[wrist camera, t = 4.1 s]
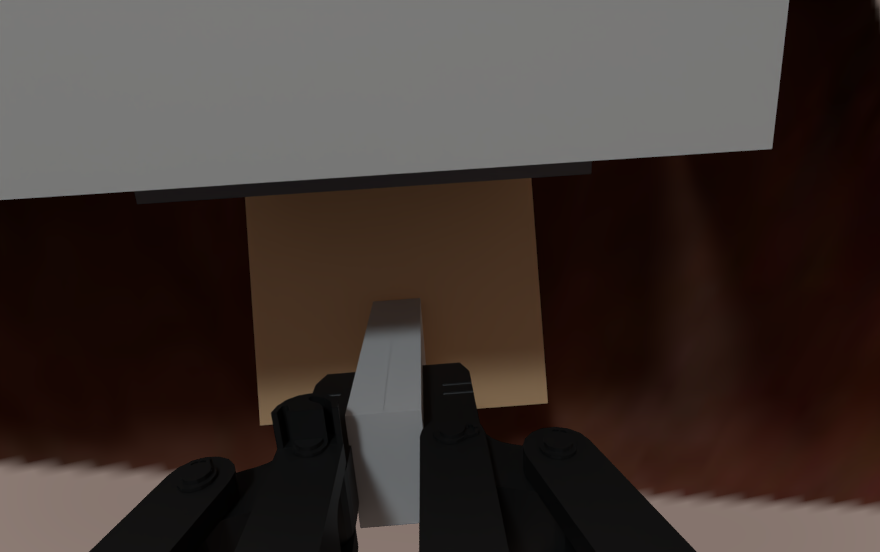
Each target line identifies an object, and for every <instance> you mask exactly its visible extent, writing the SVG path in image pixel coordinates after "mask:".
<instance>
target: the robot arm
mask: <svg viewBox="0 0 880 552" xmlns="http://www.w3.org/2000/svg"><path fill="white" fill-rule="evenodd" d="M271 417H272V422H273V428H274V433H275V438H276V444H277V451H276V454H275V456H274V459H273V461H271V462H269V463H267V464H264V465H261V466H258V467H255V468H252V469H248V470H245V471H241V472H238V473H236V471H235V466H234V464H233V463H232V462H231V461H230V460H229V459H226V458H222V457H205V458H200V459H197V460H194V461H191V462H189V463H187V464H185V465H183V466H181V467H179V468H177V469H176V470H175V471H173V472H172V473H171V474H169V475H168V476H167V477H166V478H165V479H164V480H163V481H162V482H161V483H160V484H159V485H158V486H157V487H156V488H154V489H153V490H152V491H151V492H150V493H149V494H148V495H147V496H146V497H145V498H144V499H143V500H142V501H141V502H140V503H139V504H138V505H137V506H136V507H135V508H134V509H133V510H132V511H131V512H130V513H129V514H128V515H127V516H126V517H125V518H124V519H122V520H121V522H119V523H118V524H117V525H116V526H115V527H114V528H113V529H112V530H111V531H110V532H109V533H108V534H107V535H106V536H105V537H104V538H103V539H102V540H101V541H100V542H99V543H98V544H97V545H96V546H95V547H94V548H93V549H92V550H90V551H89V552H358V541H357V534H356V521H357V514H358V513H359V520H360V527H361V528H367V527H379V526H391V525H403V524H415V523H419V529H420V531H419V540H420V541H419V552H696V551H695V550H694V549H693V548H692V547H691V546H690V544H689V543H687V541H686V540H685V539H684V538H683V537H682V536H681V535H680V534H679V533H678V532H677V531H676V530H675V529H674V528H673V527H672V526H671V525H670V524H669V523H668V521H666V519H665V518H664V517H663V516H662V515H661V514H660V513H659V512H658V511H657V510H656V509H655V508H654V507H653V506H652V505H651V504H650V503H649V502H648V501H647V500H646V498H645V497H644V496H643V495H642V494H641V493H640V492H639V491H638V490H637V489H636V488H635V487H634V486H633V485H632V484H631V483H630V482H629V481H628V480H627V479H626V478H625V477H624V476H623V474H622V473H621V472H620V471H619V470H618V469H617V468H616V467H615V466H614V465H613V464H612V463H611V462H610V461H609V460H608V459H607V458H606V457H605V456H604V455H603V454H602V453H601V451H600V450H599V449H598V448H597V447H596V446H595V445H594V444H593V443H592V442H591V441H590V440H589V439H588V438H586V437H585V436H583V435H582V434H581V433H579V432H576V431H573V430H570V429H567V428H559V427H550V428H542V429H539V430H537V431H534V432H532V433H531V434H530V435H529V436H527V437H526V438H525V441H524V444H523V446H521V445H513V444H508V443H503V442H500V441H498V440H495V439H493V438H491V437H490V436H488V435H487V434H486V433H485V431H484V429H483V427H482V426H481V424H480V422H479V417H478V412H477V407H476V402H475V397H474V392H473V387H472V382H471V376H470V371H469V370H468V369H467V368H466V367H464V366H463V365H462V364H461V363H460V362H458V363H445V364H433V365H426V360H425V348H424V336H423V324H422V312H421V300H420V298H413V299H400V300H387V301H374V302H373V304H372V308H371V312H370V316H369V320H368V324H367V328H366V332H365V336H364V340H363V344H362V349H361V353H360V357H359V361H358V365H357V369H356V372H349V373H337V374H327V375H326V376H325V377H324V378H323V379H321V380H320V381H319V382H318V383H317V384H316V385H315V388H314V390H313V393H309V394H304V395H298V396H295V397H293V398H290V399H287V400H285V401H284V402H282V403H281V404H279V405H277V406H276V407H275V409H274V410H273V411H272V412H271Z"/></svg>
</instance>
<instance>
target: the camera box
mask: <svg viewBox="0 0 880 552" xmlns="http://www.w3.org/2000/svg"><path fill="white" fill-rule="evenodd" d="M788 6H789V0H0V200H9V199H24V198H39V197H55V196H70V195H85V194H100V193H115V192H130V191H134V193H135V197H136V202H137V204H149V203H164V202H178V201H193V200H208V199H223V198H238V197H253V196H268V195H283V194H298V193H313V192H328V191H343V190H358V189H373V188H388V187H403V186H418V185H433V184H448V183H463V182H478V181H493V180H508V179H523V178H538V177H553V176H568V175H583V174H591V169H592V161H598V160H614V159H629V158H644V157H659V156H674V155H689V154H704V153H719V152H734V151H750V150H765V149H772V146H773V137H774V128H775V120H776V111H777V102H778V93H779V85H780V76H781V67H782V59H783V50H784V41H785V32H786V24H787V15H788Z"/></svg>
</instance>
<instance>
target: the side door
mask: <svg viewBox="0 0 880 552" xmlns="http://www.w3.org/2000/svg"><path fill="white" fill-rule="evenodd" d="M245 205H246V220H247V236H248V251H249V266H250V281H251V296H252V311H253V326H254V341H255V356H256V371H257V386H258V401H259V417H260V425H272V424H273V422H272V417H271V412H272V411H273V410H274V409H275V407H276V406H277V405H279V404H281V403H282V402H284V401H285V400H287V399H290V398H293V397H295V396H298V395H304V394H309V393H313V390H314V388H315V385H316V384H317V383H318V382H319V381H320V380H321V379H323V378H324V377H325V376H326V375H327V374H337V373H349V372H356V369H357V365H358V361H359V357H360V353H361V349H362V344H363V340H364V336H365V332H366V328H367V324H368V320H369V316H370V312H371V308H372V304H373V302H374V301H387V300H400V299H413V298H420V300H421V312H422V324H423V336H424V348H425V360H426V365H433V364H445V363H458V362H460V363H461V364H462V365H463V366H464V367H466V368H467V369H468V370H469V371H470V376H471V382H472V387H473V392H474V397H475V402H476V407H477V409H480V408H493V407H506V406H519V405H532V404H545V403H548V398H547V384H546V371H545V357H544V343H543V330H542V316H541V303H540V289H539V276H538V262H537V248H536V235H535V221H534V208H533V194H532V181H531V178H523V179H508V180H493V181H478V182H463V183H448V184H433V185H418V186H403V187H388V188H373V189H358V190H343V191H328V192H313V193H298V194H283V195H268V196H253V197H245Z"/></svg>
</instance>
